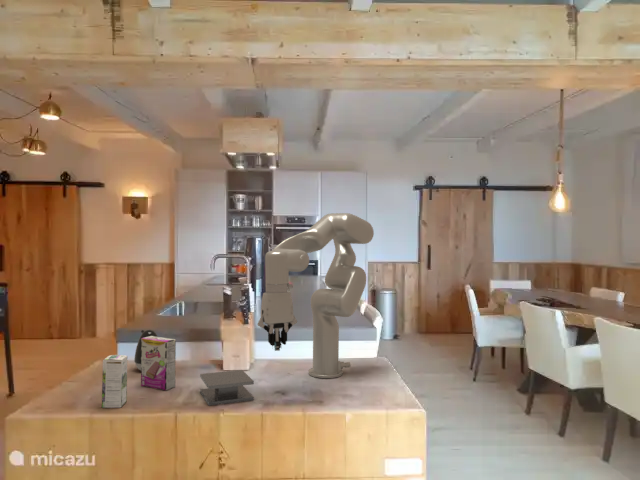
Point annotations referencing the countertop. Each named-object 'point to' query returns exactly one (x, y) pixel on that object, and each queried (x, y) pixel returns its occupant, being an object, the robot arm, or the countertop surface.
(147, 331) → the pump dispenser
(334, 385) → the countertop surface
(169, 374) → the candy bar box
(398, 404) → the countertop surface
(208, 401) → the stand
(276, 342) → the push button
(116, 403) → the syrup box
